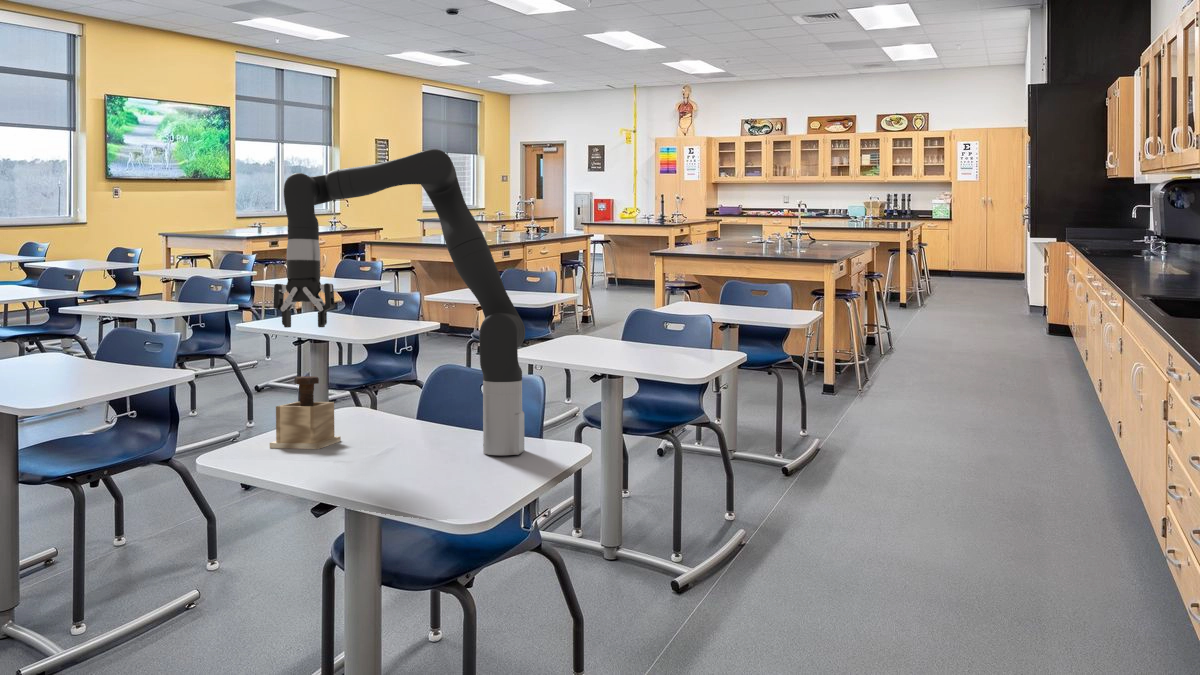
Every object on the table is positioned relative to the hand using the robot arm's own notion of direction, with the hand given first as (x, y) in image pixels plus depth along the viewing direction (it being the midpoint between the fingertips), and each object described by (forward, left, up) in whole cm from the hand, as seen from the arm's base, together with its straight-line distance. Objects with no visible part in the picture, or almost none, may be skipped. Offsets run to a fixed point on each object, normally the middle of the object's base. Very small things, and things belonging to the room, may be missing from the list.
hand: (304, 327), depth 206 cm
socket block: (0, 0, -28) cm, 28 cm away
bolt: (0, 0, -27) cm, 27 cm away
